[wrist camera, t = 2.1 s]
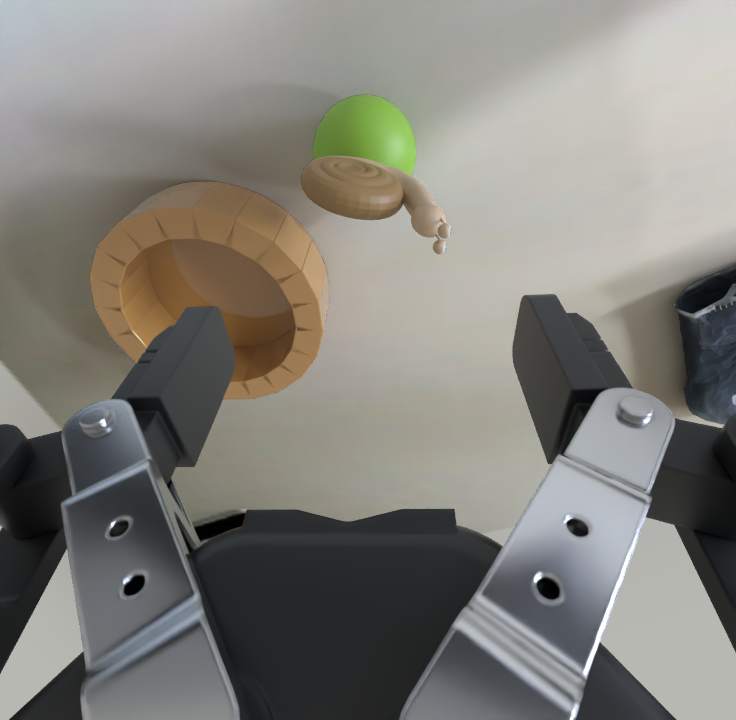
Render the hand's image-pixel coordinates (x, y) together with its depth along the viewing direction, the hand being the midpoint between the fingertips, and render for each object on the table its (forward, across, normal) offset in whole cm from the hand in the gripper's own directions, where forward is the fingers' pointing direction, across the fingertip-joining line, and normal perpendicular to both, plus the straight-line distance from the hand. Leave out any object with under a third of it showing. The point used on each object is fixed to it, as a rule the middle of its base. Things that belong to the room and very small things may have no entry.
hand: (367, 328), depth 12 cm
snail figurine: (+18, 0, -1) cm, 18 cm away
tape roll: (+18, +11, +8) cm, 23 cm away
